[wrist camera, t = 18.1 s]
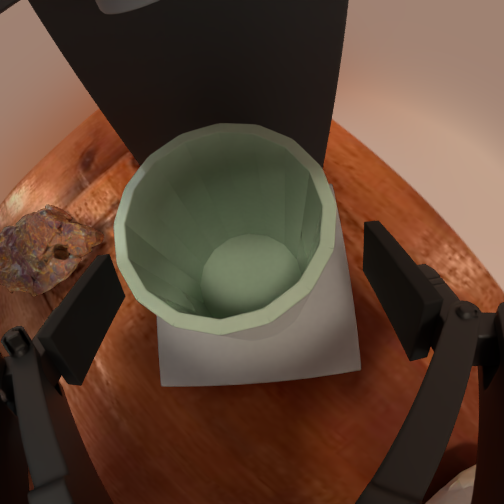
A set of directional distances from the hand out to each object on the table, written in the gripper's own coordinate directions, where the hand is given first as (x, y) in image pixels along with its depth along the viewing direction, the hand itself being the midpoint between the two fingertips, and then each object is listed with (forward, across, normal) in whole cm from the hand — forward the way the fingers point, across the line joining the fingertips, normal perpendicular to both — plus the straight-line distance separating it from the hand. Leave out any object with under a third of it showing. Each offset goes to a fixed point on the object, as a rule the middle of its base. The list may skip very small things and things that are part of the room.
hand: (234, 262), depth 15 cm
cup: (+5, 0, -5) cm, 7 cm away
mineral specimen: (+9, -18, -2) cm, 20 cm away
